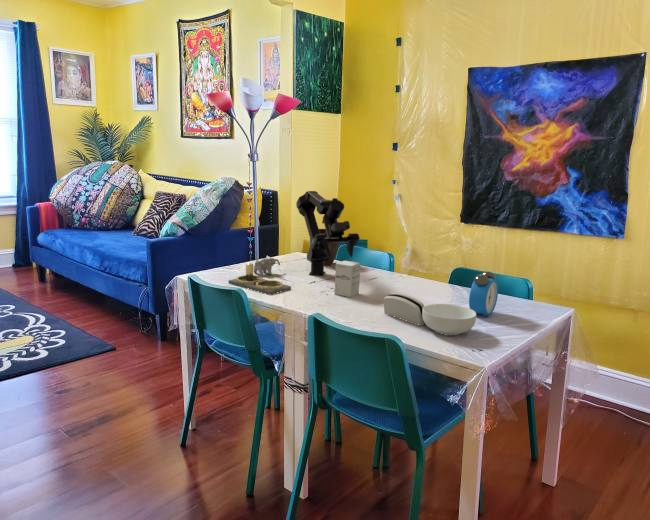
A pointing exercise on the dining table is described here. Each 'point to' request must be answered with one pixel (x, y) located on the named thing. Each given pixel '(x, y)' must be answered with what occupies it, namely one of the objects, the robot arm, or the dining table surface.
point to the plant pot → (330, 248)
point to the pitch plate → (258, 282)
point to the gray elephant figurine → (264, 265)
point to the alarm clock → (483, 294)
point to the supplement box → (347, 278)
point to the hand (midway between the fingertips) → (341, 257)
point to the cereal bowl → (448, 318)
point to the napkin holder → (404, 307)
